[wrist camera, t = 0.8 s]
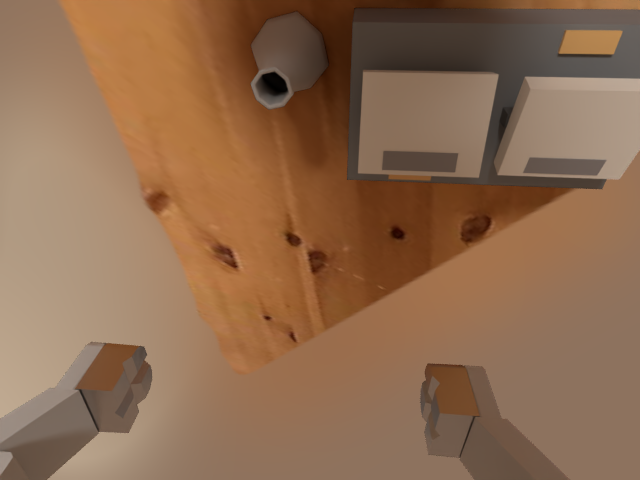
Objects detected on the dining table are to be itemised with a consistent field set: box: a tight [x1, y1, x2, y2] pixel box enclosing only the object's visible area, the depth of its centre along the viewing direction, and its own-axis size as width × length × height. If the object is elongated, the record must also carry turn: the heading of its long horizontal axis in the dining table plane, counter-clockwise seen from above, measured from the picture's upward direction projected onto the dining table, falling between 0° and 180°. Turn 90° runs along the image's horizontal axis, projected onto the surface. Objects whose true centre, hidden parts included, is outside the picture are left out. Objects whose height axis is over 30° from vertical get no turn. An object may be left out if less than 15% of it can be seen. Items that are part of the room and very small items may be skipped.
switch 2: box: [494, 77, 640, 179], centre depth 33 cm, size 8×10×2 cm
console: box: [347, 8, 640, 189], centre depth 38 cm, size 14×24×8 cm, turn 90°
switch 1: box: [358, 70, 499, 178], centre depth 34 cm, size 8×10×2 cm
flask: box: [251, 11, 329, 110], centre depth 36 cm, size 7×7×10 cm
